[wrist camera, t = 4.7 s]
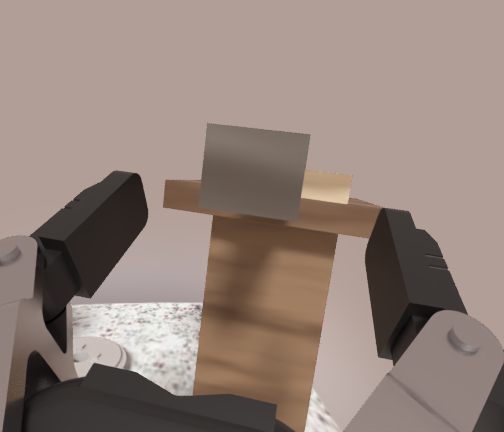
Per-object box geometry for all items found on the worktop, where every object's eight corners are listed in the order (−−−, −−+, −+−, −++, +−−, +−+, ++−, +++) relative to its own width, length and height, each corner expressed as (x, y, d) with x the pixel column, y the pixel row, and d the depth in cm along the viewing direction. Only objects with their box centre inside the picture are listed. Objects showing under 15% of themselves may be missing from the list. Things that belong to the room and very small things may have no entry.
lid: (131, 401, 42) (134, 369, 42) (18, 432, 36) (19, 394, 35) (118, 351, 53) (120, 324, 52) (28, 368, 46) (29, 337, 46)
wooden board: (424, 241, 8) (443, 149, 8) (93, 191, 10) (97, 111, 9) (328, 195, 34) (332, 172, 34) (241, 183, 35) (244, 161, 35)
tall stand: (319, 608, 24) (397, 212, 20) (132, 550, 26) (165, 180, 22) (311, 453, 38) (356, 198, 34) (189, 422, 40) (216, 180, 36)
